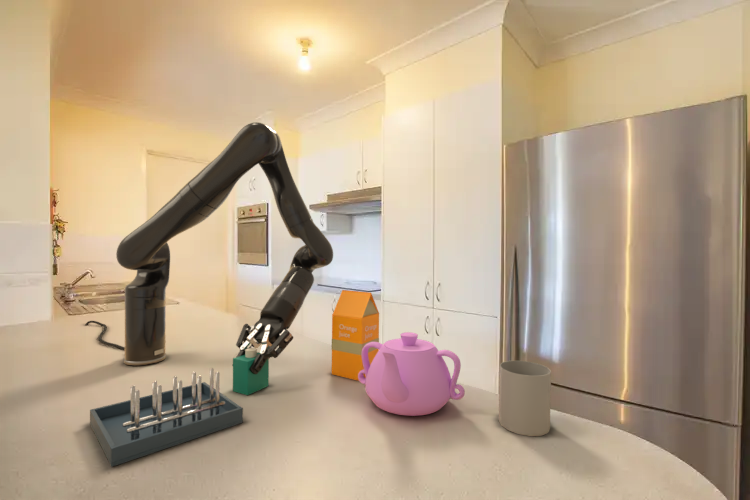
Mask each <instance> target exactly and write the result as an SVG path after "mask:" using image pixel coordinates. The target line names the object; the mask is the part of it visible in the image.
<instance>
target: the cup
mask: <svg viewBox="0 0 750 500" xmlns="http://www.w3.org/2000/svg"><path fill="white" fill-rule="evenodd" d="M498 369H499V371H498V373H499V376H498V379H499V380H498V422H499V425H500V426H501V427H502V428H504V429H506V430H507V431H508V432H512V433H515V434H517V435H521V436H526V437H527V436H528V437H539V436H540V437H541V436H544V435H547V434H549V432H550V430H551V398H552V397H551V396H552V395H551V393H552V370H551V369H550V368H549V367H548V366H546V365H544V364H542V363H541V364H540V363H537V362H532V361H527V360H506V361H502V362H501V363H500V364H499V368H498Z"/></svg>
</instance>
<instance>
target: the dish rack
mask: <svg viewBox="0 0 750 500" xmlns="http://www.w3.org/2000/svg"><path fill="white" fill-rule="evenodd" d="M214 370H215V369H214V368H213V367H211V368H209V385H210V399H208V400H205V401H201V383H202V375H197V373H196V371H192V372H191V385H192V404H190V405H187V406H183V407H182V387H183V380H182V379H179V380H178V377H177V375H174V376H173V377H172V390H173V409H172V410H168V411H165V412H162V392H163V391H162V390H163V386H162V384H158V381H157V380H152V395H153V405H152V415H150V416H147V417H143V418H140V398H141V396H140V394H141V391H140V390H139V389H136V385H135V384H132V385H131V386H130V400H131V421H128V422H125V423H123V427H128V426H131V428H128V429H127V433H131V441H133V440H136V439H139V438H140V430H142V429H145V428H149V427H152V433H153V434H155V433H159V432H162V423H166V422H169V421H173V428H175V427H177V419H178V426H181V425H182V418H183V417H186V416H190V415H192V422H194V421H196V413H197V421H198V420H201V412H203V411H207V410H210V416H213V408H216V410H215V415H217V414H219V407H220V406H223V405H225V402H224V401H222V402H219V392H220V371H216V372H215V375H214ZM214 376H215V382H214ZM214 383H215V385H214ZM196 384H197V403H196ZM214 386H215V389H216V398H213V388H214ZM177 389H178V408H177ZM213 402H216V403H215V404H213ZM209 403H210V405H208V406H205V407H201V406H202V405H206V404H209ZM196 407H197V409H196ZM188 409H192V410H191V411H187V412H184V413H182V411H185V410H188ZM177 413H178V414H177ZM170 414H173V416H170V417H166V418H163V419H162V417H163V416H167V415H170ZM149 420H152V422H149V423H145V424H142V425H140V423H142V422H146V421H149Z"/></svg>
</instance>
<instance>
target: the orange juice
mask: <svg viewBox="0 0 750 500" xmlns="http://www.w3.org/2000/svg"><path fill="white" fill-rule="evenodd" d="M370 342H379V343H380V311H379V309H378V306H377V304H376V302H375V299H374V296H373V294H372V292H368V291H359V290H348V289H342V290H341V293H340V295H339V297H338V300H337V302H336V305H335V307H334V309H333V312H332V313H331V375H334V376H337V377H342V378H346V379H349V380H355V381H358V382H360V381H359V380H358V374H359V372H360V371H361V370H364V367H363V363H362V356H361V354H362V349H363V347H364V346H365V345H366V344H368V343H370ZM378 351H379V349H377V348H374V347H370V348H369V349H368V358H369V363H370V365H371V363H372V361H373V359H374V357H375V356H376V354H377V353H378ZM363 376H364V377H365V378H366V375H365V374H363Z"/></svg>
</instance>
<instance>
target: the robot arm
mask: <svg viewBox="0 0 750 500" xmlns="http://www.w3.org/2000/svg"><path fill="white" fill-rule="evenodd" d="M257 165H259V167H260V168H261V169H262V172H263V173H264V174H265V177H266V178H267V180H268V183H269V185H270V189H271V191H272V194H273V197H274V202H275V205H276V208H277V210H278V214H279V216H280V218H281V219H282V222H283V224H284V226H285V228H286V230H287V232H288V234H289V236H290V237H291V238H292V239H299V240H301V241H302V243H304V244H303V245H302V246H301V247H299V248H298V250H297V251H296V252H295V253H294V255H293V256H292V257H293V258H292V260H291V262H290V266H289V269H288V271H287V273H286V274H285V276H284V277H283V279H282V280H281V282H280V283H279V284H278V285H277V286H276V288H275V289H274V291H273V292H272V294H271V295H270V297H269V298H268V300H267V302H266V303H265V304H264V306H263V307H262V309H261V311H260V313H259V316H260V317H259V320H258V321H256V322H255V323H254V324H251V325H249V324H248V323H245V324H243V326H242V329H241V331H240V334H239V336H238V339H237V341H236V344H235V346H236V347H237V348H238V349H239V352H238V353H237V355H236V357H239V356H242V355H245V350H246V349H248V348H256V349H259V347H260V350H259V353H261V354H258V355H257V356H256V358H255V360H254V361H253V363H252V365H251V366H250V368H249V370H250V371H251V372H252V373H253V374H258V372H260V371H261V369H262V367H263V366H264V364H265V362H266V360H267V359H269V360H270V359H271V358H273V359H277V358H278V357H279V356H280V355H281V353H282V352H283V351H284V350H285V349H286V348H287V347H288V346H289V344H290V343H291V342H292V341H293V340H294V336H293V334H292V333H291V332H290V331H289V329H290V327H291V326H292V324H293V322H294V321H295V319H296V317H297V315H298V313H299V312H300V310H301V309H302V307H303V305H304V302H305V299H306V298H307V296H308V294H309V293H310V291H311V289H312V287H313V285H314V282H315V276H314V274H313V273H314V271H315V270H318V269H320V268H324V267H328V266H329V265H330V264H332V262H333V259H334V249H333V246H332V244H331V242H330V241H329V239H328V238H327V237H326V236H325V234H323V232H322V231H321V230H320V228H319V227H318V226H317V225H316V223H315V222H314V220H313V218H312V215H311V213H310V211H309V209H308V207H307V204H306V203H305V201H304V199H303V197H302V195H301V192H300V191H299V189H298V187H297V184H296V182H295V179H294V178H293V174H292V173H291V170H290V167H289V164H288V162H287V158H286V154H285V150H284V148H283V144H282V140H281V137H280V135H279V133H278V132H277V131H276V130H275V129H274V128H273V127H270V126H268V125H267V124H265V123H263V122H258V121H257V122H249V123H247V124H246V125H244V126H243V127H242V128H241V129H240V130H239V131H238V132H237V133H236V135H234V137H233V138H232V139H231V140H230V142H229V143H228V144H227V146H226V147H225V148H223V150H222V151H221V152H220V154H218V155H217V157H215V158H214V159H213V160H212V161H211V162H209V163H208V164H207V165H206V166H205V167H204V168H202V169H201V171H199V172H198V173H197V174H196V175H195V176H194V177H193V178H192V179H190V180H189V181H188V182H187V183H186V184H185V185H184V186H182V188H180V189H179V190H178V192H176V194H175V195H174V196H173V197H171V198H170V200H168V201H167V202H166V203H165V204H164V205H163V206H161V208H159V210H158V211H157V212H155V213H154V214H153V215H152V216H151V217H150V218H149V219H147V220H146V221H144V222H143V223H142V224H140V226H138V227H136V229H134V230H132V231H131V232H130V233H129V234H127V235H125V236H124V238H123V239H122V240H120V242H119V244H118V245H117V248H116V254H115V255H116V260H117V263H118V264H119V265H120V266H121V267H122V268H124V269H127V270H131V271H136V275H135V277H134V278H133V279H132V281H130V282H129V283H127V284H126V286H125V287H124V346H123V345H120V344H116V343H112V342H108V341H105V340H104V339H102V337H103V335H104V334H105V332H106V331H107V329H108V328H107V324H104V323H102V322H99V321H97V320H89V321H87V322H86V323H85V325H84V326H88V325H89V324H92V323H93V324H96V325H99V326H101V327H103V330H102V331H101V332H100V334H99V335H98V341H99V342H100V343H102V344H103V345H106V346H108V347H109V346H110V347H113V348H117V349H120V350H122V351H124V358H123V361H124V362H123V363H124V365H127V366H146V365H152V364H156V363H160V362H162V361H164V360H165V359H166V358H167V353H166V326H167V325H166V310H167V309H166V306H167V305H166V301H167V300H166V295H167V293H166V291H167V287H168V286H169V285H168V284H169V282H170V273H171V271H170V269H171V249H170V245H169V243H168V242H169V241H170V240H172V238H175V237H176V236H178V235H180V234H182V233H184V232H187V231H188V230H190V229H192V228H193V227H194V228H195V226H198V225H199V224H201V223H202V222H204V221H205V220H206V219H209V217H210V216H211V215H212V214H213V213H215V211H217V210H218V209H219V208H220V207H221V206H222V205H223V204H224V203H225V201H226V200H227V199H228V198H229V196H230V194H231V192H232V191H233V189H234V188H235V186H236V184H237V183H238V181H239V180H240V179H241V178H242V177H243V176H244V175H246V174H247V173H248V172H249V171H250V170H251V169H253V168H255V166H257ZM236 357H235V358H236ZM231 364H232V367H233V363H231Z"/></svg>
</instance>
